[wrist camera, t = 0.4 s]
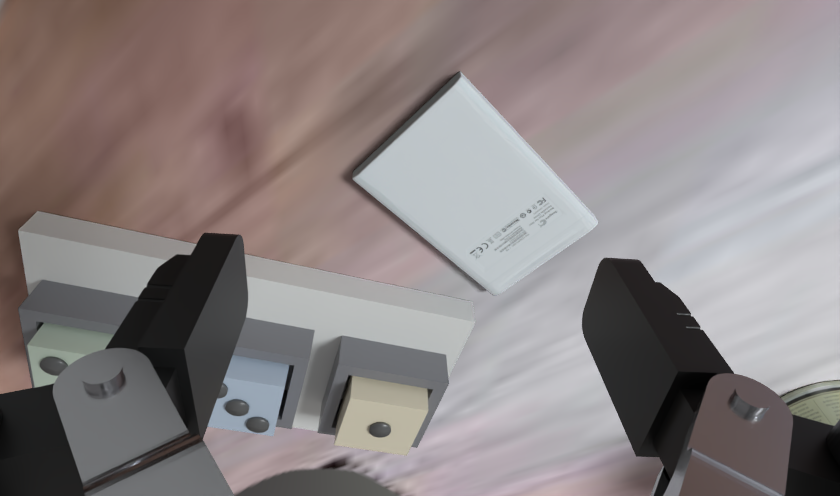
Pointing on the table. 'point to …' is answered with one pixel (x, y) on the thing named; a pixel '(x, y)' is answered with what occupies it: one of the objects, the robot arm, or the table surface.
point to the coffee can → (816, 402)
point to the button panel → (255, 314)
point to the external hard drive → (475, 188)
